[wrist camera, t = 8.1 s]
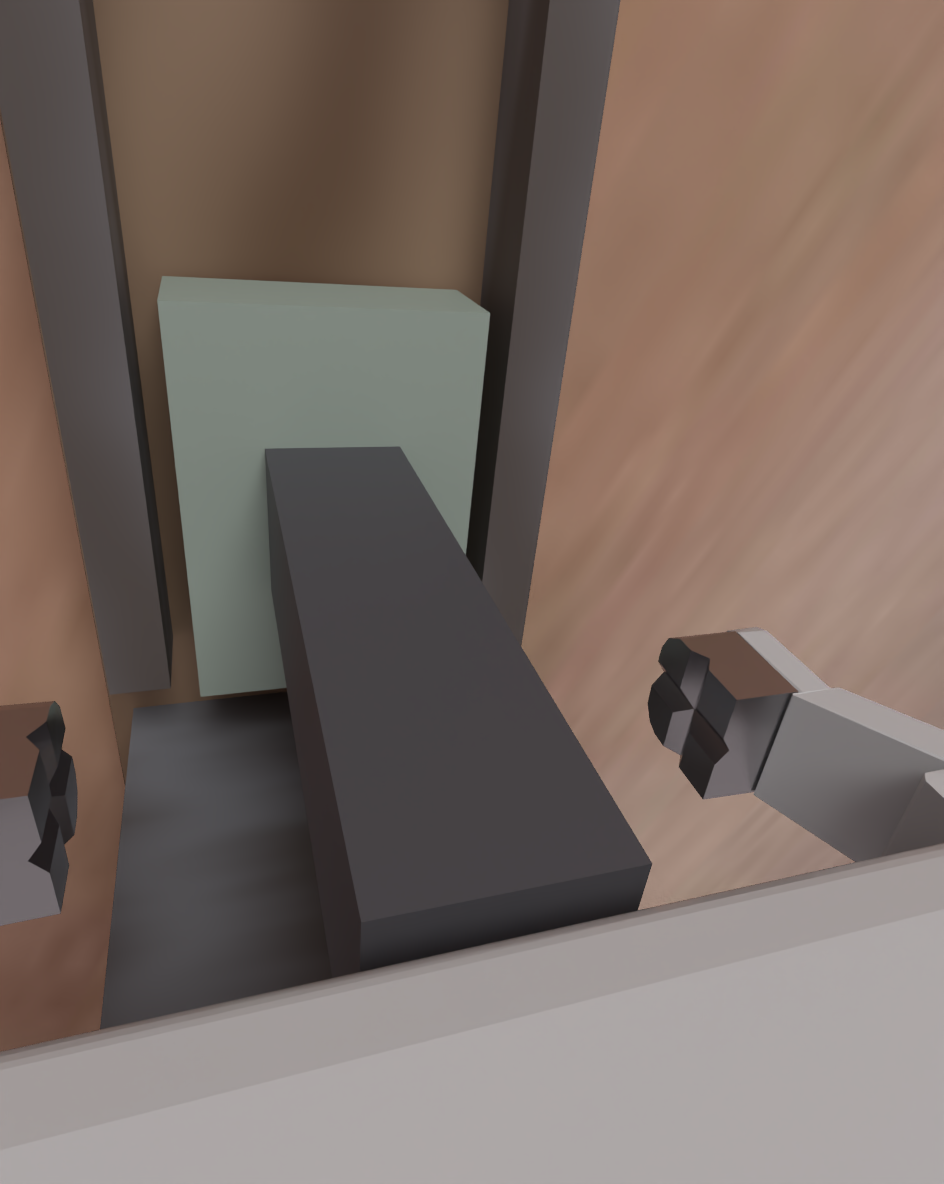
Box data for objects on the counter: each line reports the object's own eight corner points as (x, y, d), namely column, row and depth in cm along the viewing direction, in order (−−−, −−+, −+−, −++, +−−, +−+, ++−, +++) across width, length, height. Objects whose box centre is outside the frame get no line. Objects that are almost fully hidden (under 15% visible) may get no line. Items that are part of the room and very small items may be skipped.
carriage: (456, 289, 16) (906, 601, 6) (430, 619, 20) (667, 1132, 10) (162, 276, 14) (79, 682, 4) (200, 638, 18) (205, 1281, 8)
